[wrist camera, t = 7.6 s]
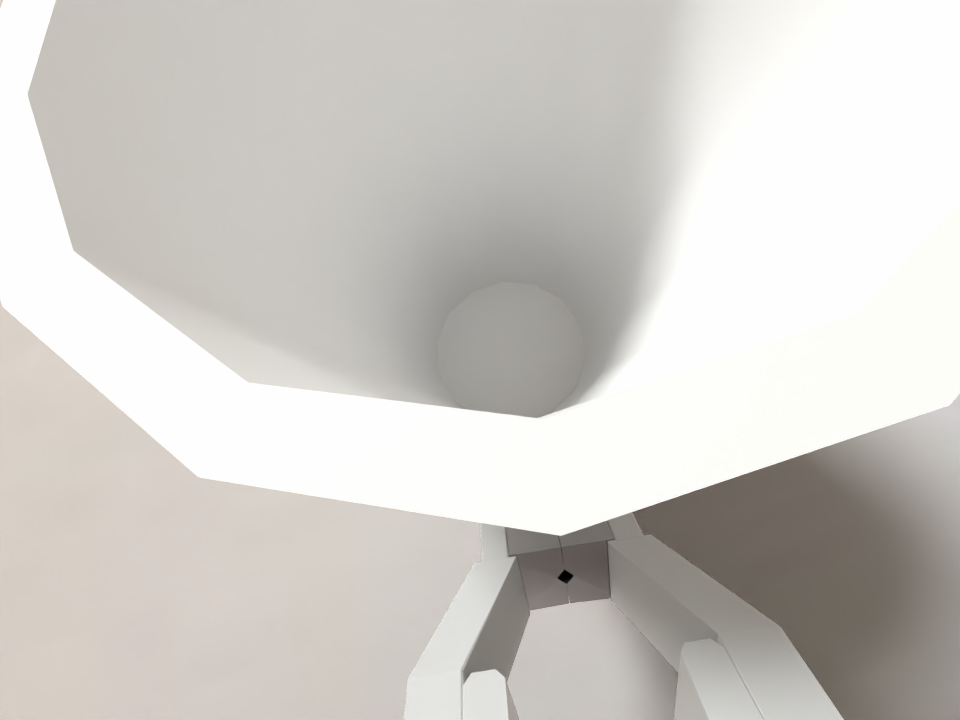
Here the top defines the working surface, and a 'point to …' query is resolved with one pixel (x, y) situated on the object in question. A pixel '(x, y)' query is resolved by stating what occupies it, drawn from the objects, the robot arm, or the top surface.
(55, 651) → the top surface
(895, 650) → the top surface
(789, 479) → the top surface
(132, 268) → the foam cup
